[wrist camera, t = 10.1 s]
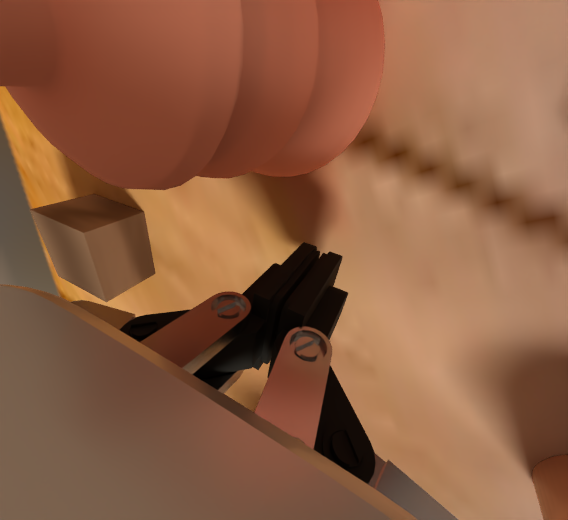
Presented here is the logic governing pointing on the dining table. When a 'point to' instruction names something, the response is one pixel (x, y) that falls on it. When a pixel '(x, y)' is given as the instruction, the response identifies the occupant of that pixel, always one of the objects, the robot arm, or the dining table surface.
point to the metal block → (96, 244)
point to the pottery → (193, 83)
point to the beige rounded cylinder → (552, 487)
